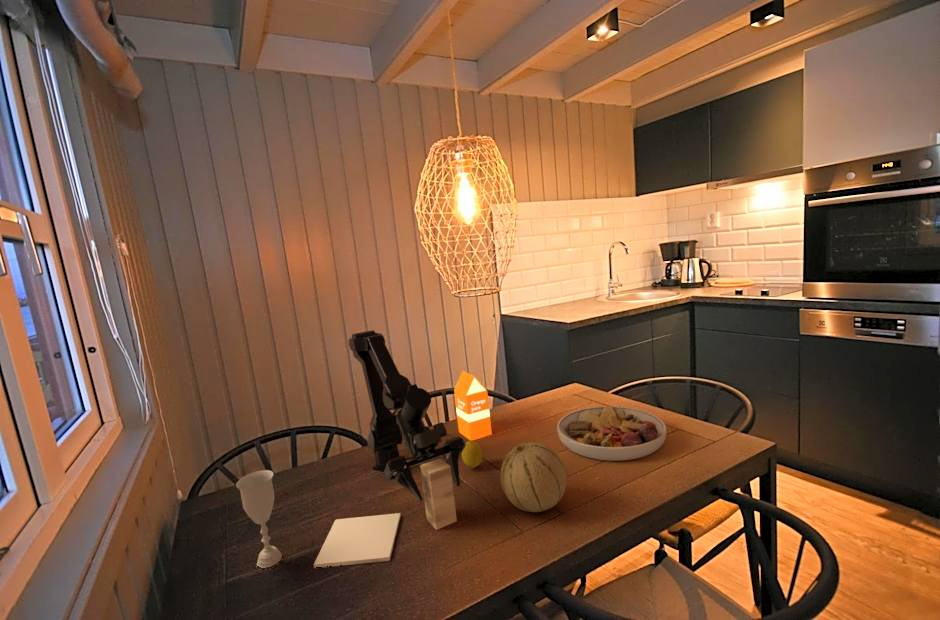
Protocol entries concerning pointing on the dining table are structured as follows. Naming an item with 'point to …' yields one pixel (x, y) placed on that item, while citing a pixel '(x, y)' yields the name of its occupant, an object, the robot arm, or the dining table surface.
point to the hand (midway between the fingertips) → (440, 493)
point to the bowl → (612, 433)
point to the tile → (359, 540)
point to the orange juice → (472, 407)
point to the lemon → (472, 454)
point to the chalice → (260, 509)
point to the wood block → (438, 493)
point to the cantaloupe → (533, 477)
